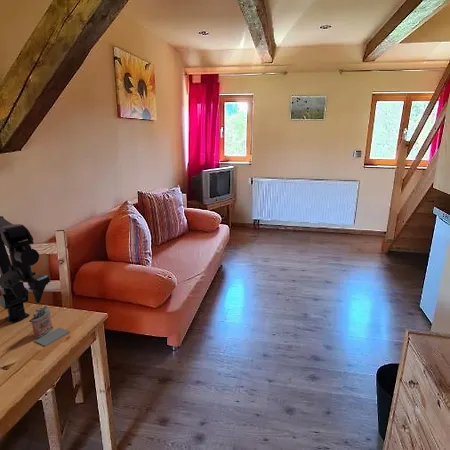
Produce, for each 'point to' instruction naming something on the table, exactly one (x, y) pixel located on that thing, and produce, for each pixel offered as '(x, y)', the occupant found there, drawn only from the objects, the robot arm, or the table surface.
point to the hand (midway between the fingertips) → (29, 301)
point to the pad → (52, 336)
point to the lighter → (41, 322)
